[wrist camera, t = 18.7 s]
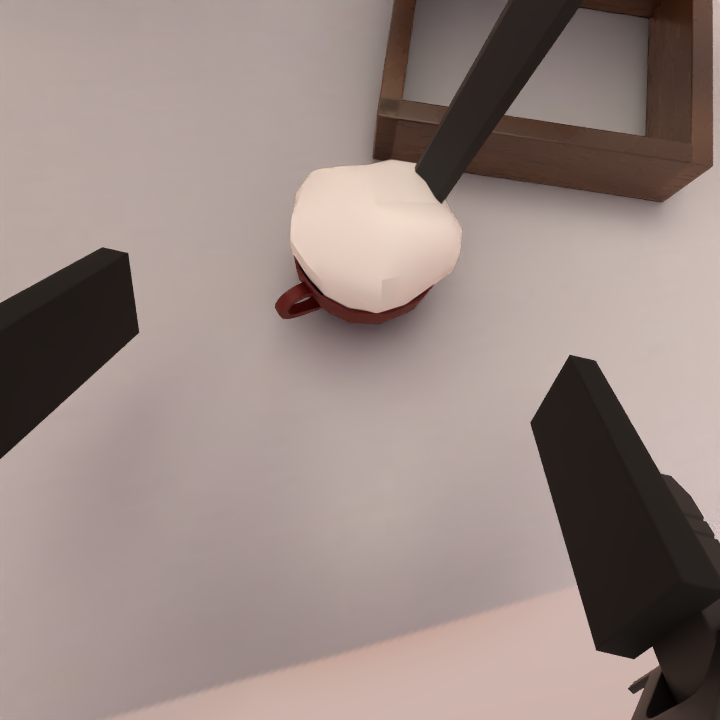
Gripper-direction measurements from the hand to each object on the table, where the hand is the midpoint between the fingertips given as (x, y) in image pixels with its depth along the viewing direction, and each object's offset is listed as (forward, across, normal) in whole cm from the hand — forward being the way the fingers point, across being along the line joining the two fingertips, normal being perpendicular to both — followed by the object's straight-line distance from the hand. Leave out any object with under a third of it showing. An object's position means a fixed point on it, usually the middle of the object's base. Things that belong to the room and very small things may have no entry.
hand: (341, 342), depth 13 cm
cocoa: (+9, 0, -1) cm, 9 cm away
